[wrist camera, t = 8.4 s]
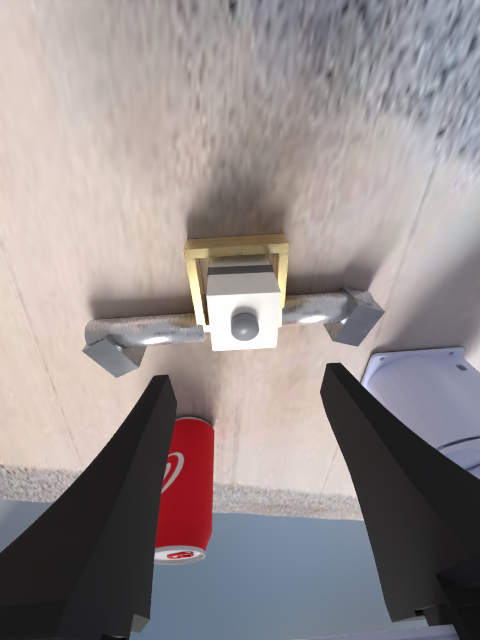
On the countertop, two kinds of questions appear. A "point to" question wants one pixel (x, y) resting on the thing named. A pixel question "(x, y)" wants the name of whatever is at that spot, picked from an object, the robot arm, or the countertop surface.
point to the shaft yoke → (139, 332)
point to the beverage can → (186, 494)
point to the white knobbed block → (242, 302)
